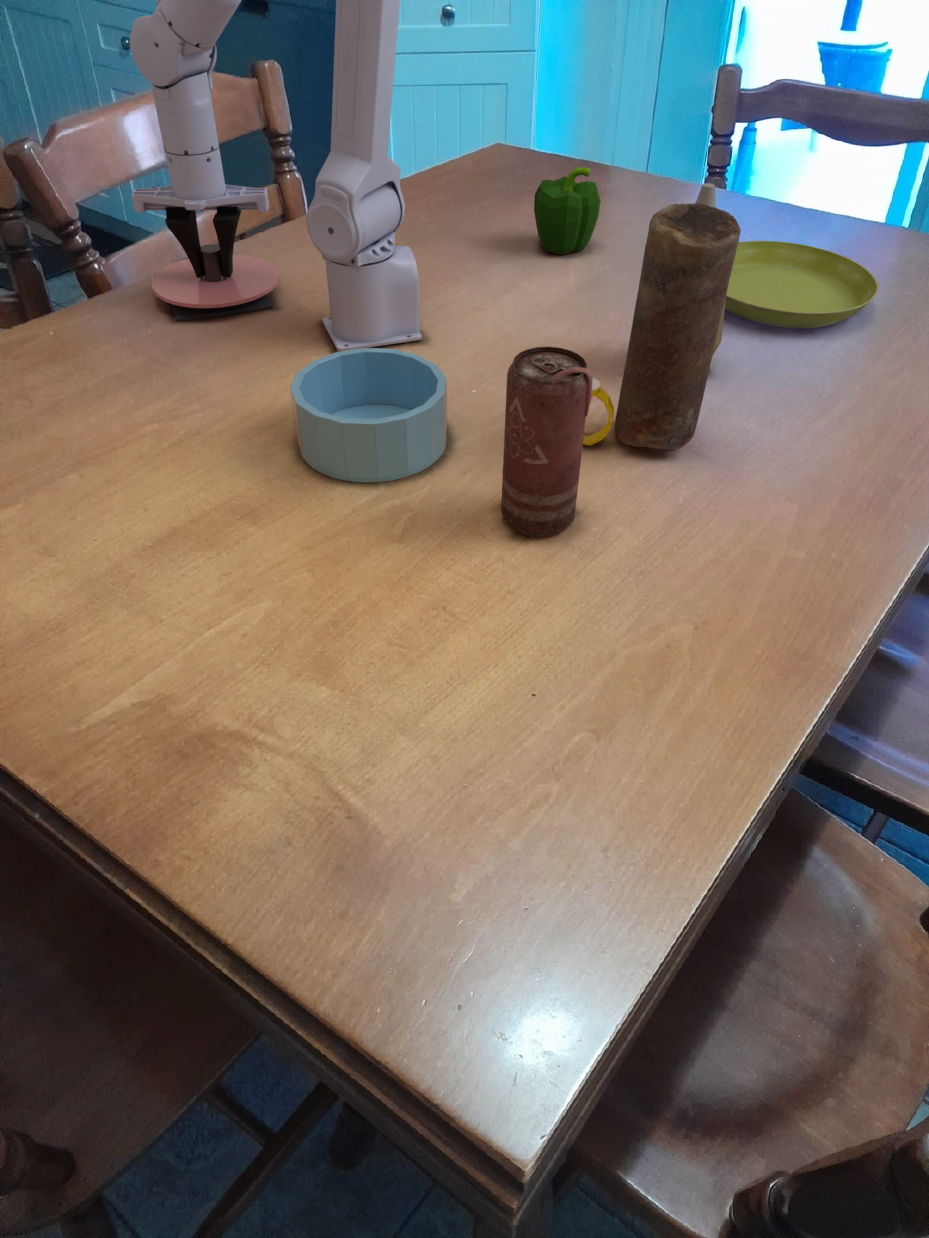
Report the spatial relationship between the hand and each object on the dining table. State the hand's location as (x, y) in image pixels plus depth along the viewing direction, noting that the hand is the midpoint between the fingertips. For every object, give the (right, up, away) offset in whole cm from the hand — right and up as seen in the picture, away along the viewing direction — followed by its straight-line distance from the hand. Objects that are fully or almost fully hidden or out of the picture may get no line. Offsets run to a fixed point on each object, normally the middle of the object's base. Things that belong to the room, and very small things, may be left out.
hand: (214, 274), depth 105 cm
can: (+35, -32, -30) cm, 56 cm away
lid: (0, -1, +1) cm, 1 cm away
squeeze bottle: (+52, -14, -10) cm, 54 cm away
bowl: (+21, -24, -22) cm, 38 cm away
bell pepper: (+42, +8, +14) cm, 45 cm away
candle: (+47, -24, -21) cm, 56 cm away
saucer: (+67, -2, +2) cm, 67 cm away
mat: (0, -2, +2) cm, 3 cm away
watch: (+40, -24, -21) cm, 51 cm away
